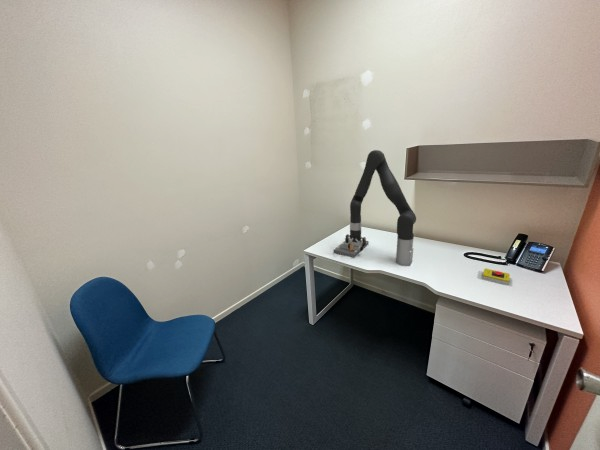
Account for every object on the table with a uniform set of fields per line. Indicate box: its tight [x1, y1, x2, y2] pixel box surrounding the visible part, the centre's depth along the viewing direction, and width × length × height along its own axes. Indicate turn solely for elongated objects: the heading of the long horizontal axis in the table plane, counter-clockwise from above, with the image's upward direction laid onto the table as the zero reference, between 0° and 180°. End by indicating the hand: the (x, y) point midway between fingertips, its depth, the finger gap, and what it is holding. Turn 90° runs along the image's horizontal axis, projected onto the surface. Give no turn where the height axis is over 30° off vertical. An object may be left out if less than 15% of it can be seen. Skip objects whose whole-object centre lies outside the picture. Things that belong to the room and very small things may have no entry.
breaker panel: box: [333, 237, 370, 259], centre depth 184 cm, size 16×26×7 cm, turn 144°
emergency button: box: [476, 268, 513, 287], centre depth 137 cm, size 9×4×15 cm
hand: (355, 249), depth 175 cm, fingers open, 8 cm apart
